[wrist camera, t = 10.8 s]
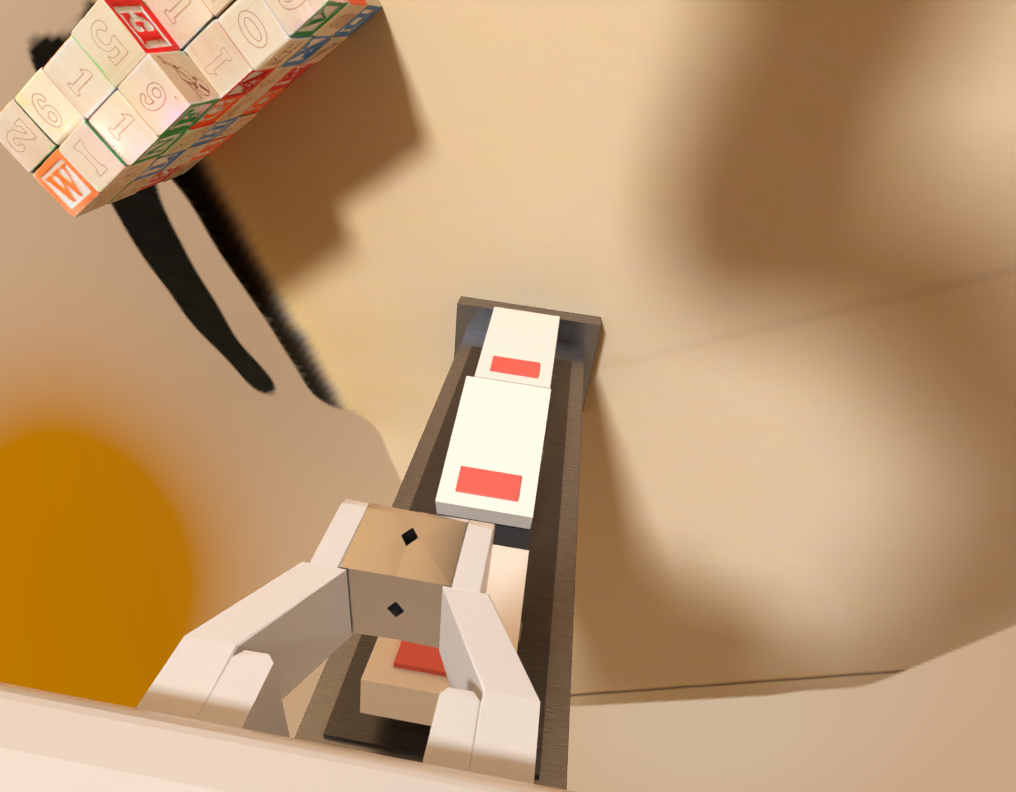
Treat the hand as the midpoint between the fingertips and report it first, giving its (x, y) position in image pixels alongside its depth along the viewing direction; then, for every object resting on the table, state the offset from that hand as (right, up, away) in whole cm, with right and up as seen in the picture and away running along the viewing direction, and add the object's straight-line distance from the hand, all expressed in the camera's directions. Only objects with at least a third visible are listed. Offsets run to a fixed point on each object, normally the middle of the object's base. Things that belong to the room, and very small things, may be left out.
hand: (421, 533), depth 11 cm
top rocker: (0, -5, +15) cm, 16 cm away
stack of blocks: (-17, +27, +30) cm, 44 cm away
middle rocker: (+2, +3, +23) cm, 23 cm away
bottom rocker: (+3, +9, +32) cm, 34 cm away
